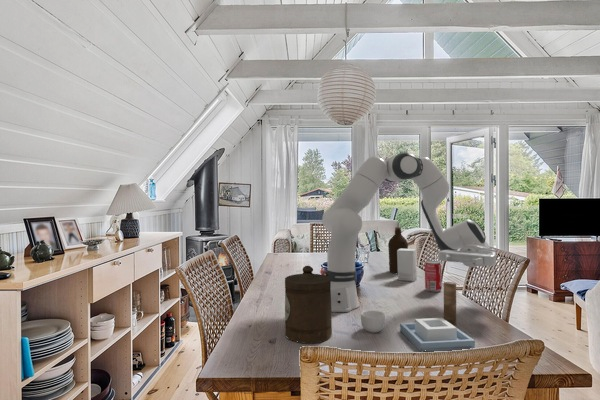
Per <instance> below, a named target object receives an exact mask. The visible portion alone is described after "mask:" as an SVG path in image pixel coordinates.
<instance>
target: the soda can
mask: <svg viewBox="0 0 600 400" xmlns="http://www.w3.org/2000/svg"><path fill="white" fill-rule="evenodd" d="M442 278H443V277H442V264H441V261H440V260H426V261H425V264H424V289H425V290H426V291H428V292H433V293H437V292H441V290H442V285H443V284H442V281H443V280H442Z"/></svg>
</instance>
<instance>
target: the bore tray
mask: <svg viewBox="0 0 600 400" xmlns="http://www.w3.org/2000/svg"><path fill="white" fill-rule="evenodd" d="M399 325H400V326H399V327H400V329H399V331H400V332H401V334H402V335H404V337H405V338H407V340H409V341H410V343H412V344H413V346H414V347H416V348H417V350H419V351H420V350H421V351H425V350H426V351H432V352H446V351H445V350H450V351H460V350H459V349H468V350H471V349H470V348H475V349H476V346H475V345H476V343H475V342H476V341H475V339H473V338H472V337H471V336H469V335H468V334H466V333H465V332H463V331H462V330H461V329H459V328H457V327H456V326H453V325H452V324H451V323H449V322H448V321H446V320H445V319H444V317H431V318H430V317H429V318H414V322H403V323H401V322H400V324H399ZM421 351H420V352H421Z"/></svg>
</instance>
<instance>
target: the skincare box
mask: <svg viewBox="0 0 600 400" xmlns="http://www.w3.org/2000/svg"><path fill="white" fill-rule="evenodd" d="M397 264H398V274H397V280H398V281H405V282H415V281H417V278H418V277H417V276H418V275H417V273H418V271H417V249H415V248H408V249H402V248H401V249H399V250H397Z"/></svg>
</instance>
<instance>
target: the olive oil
mask: <svg viewBox="0 0 600 400" xmlns="http://www.w3.org/2000/svg"><path fill="white" fill-rule="evenodd" d="M408 243H409V242H408V241H407V239H406V238H405V237H404V236H403V235H402V227H399V226H396V227H394V234H393V236H392V237H391V238H390V239H389V240H388V243H387V244H388V246H387V247H388V249H387V250H388V268H389V269H388V270H389V273H391V274H396V273H397V275H398V264H397V250H399V249H401V248H402V249H409V244H408Z"/></svg>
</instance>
